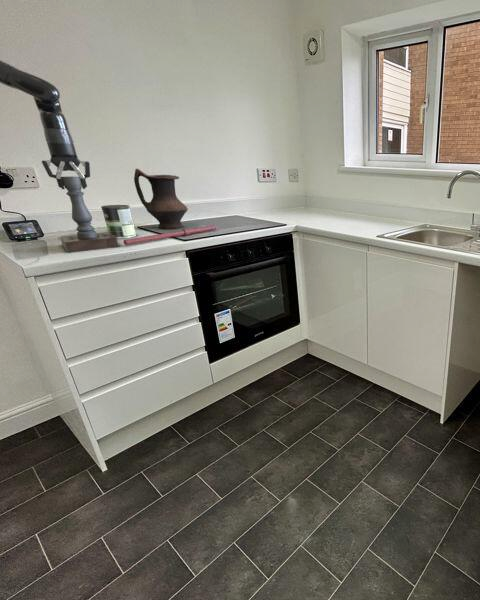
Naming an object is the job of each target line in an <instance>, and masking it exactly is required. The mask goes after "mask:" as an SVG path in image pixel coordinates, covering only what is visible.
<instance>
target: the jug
mask: <svg viewBox="0 0 480 600" xmlns="http://www.w3.org/2000/svg"><path fill="white" fill-rule="evenodd" d="M140 177H142V178H145V179H146V180H147V181H148V182H149V184H150V186H151V192H152V198H151V200H150V201H149V202H148V201H146V200H145V196H144V193H143V190H142V188H141V185H140ZM179 179H180V177H179V176H177V175H172V174H146V173H145V172H144V171H142V170H141V169H140V168H135V169H134V176H133V182H134V187H135V189H136V193H137V195H138V197H139V200H140V202H141V204H142V205H143V207H144V208H145V209H146V211H147V213H149V214H150V215H151V216H152V217H153V218H154V219H156V220H157V222H158V223H159V224H158V228H159V229H163V230H176V229H180V228H183V223H182V222H181V221H182V219H183V217H184V216H185V214H186V213H187V212H188V207H187V205H185V204H184V203H183V201H181V200H180V199H179V198H178V197H177V193H176V183H175V182H176V181H175V180H179Z"/></svg>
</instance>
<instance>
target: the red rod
mask: <svg viewBox="0 0 480 600" xmlns="http://www.w3.org/2000/svg"><path fill="white" fill-rule="evenodd" d="M216 229H217V226H216V225H207V226H202V227H201V226H200V227H195V228H190V229H189V228H183V229H182V228H181V230H176V231H170V232H165V233H157V234H152V235H145V236H140V237H132V238H126V239H124V240H123V241H122V243H123V245H125V246H129V245H130V246H131V245H135V244H141V243H146V242H152V241H158V240H164V239H169V238H175V237H181V236H184V237H186V236H190V235H192V234H198V233H203V232H210V231H215V230H216Z"/></svg>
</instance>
